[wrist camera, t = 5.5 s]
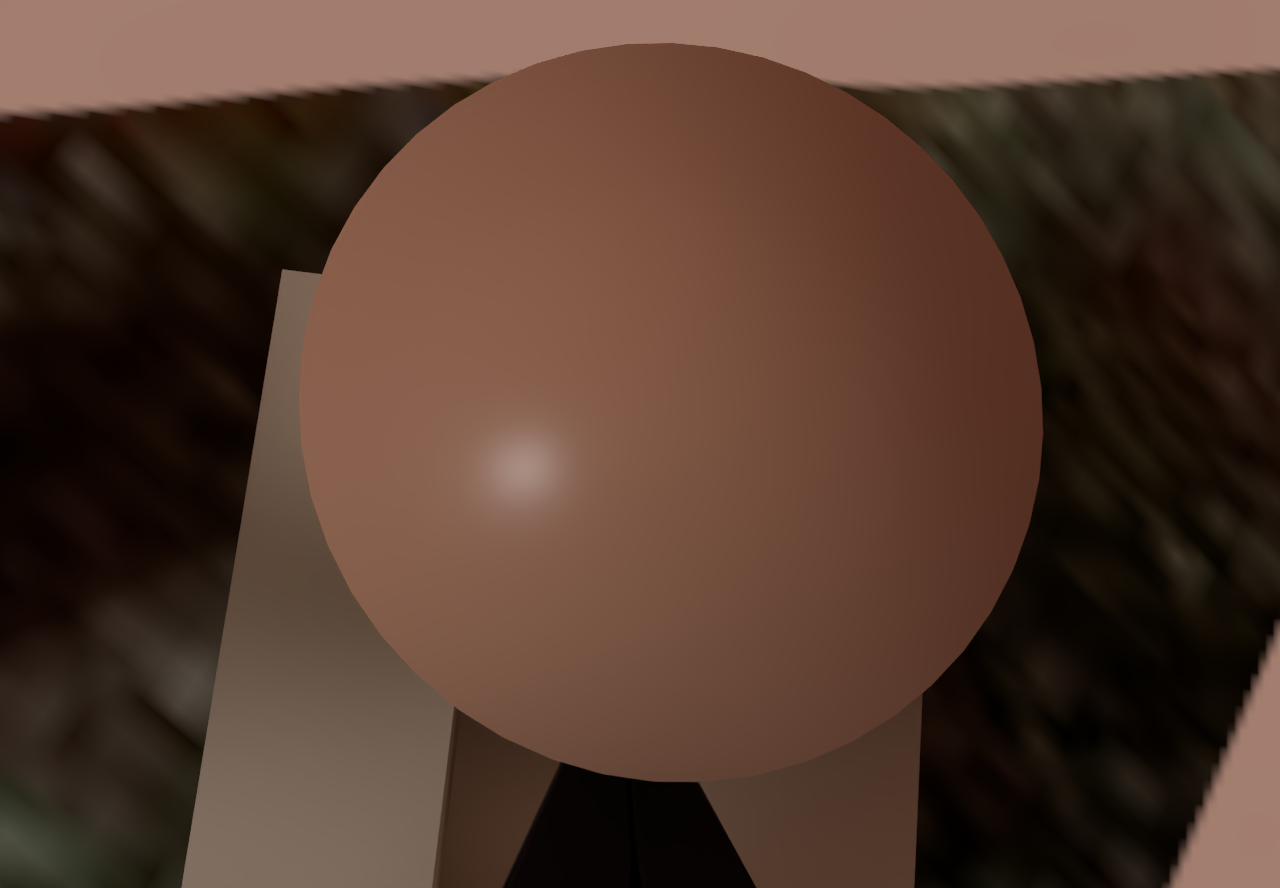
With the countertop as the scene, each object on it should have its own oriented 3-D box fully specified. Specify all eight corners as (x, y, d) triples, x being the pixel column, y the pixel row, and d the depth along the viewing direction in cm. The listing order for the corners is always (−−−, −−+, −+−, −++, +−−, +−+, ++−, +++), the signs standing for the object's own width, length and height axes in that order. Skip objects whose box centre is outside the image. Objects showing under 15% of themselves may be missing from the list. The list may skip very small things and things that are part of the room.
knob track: (812, 941, 16) (907, 1044, 13) (249, 906, 15) (161, 1009, 12) (844, 409, 18) (936, 354, 14) (335, 347, 17) (281, 269, 13)
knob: (740, 696, 15) (1034, 810, 7) (397, 667, 15) (239, 750, 6) (764, 369, 16) (1050, 100, 8) (441, 330, 16) (358, -12, 7)
